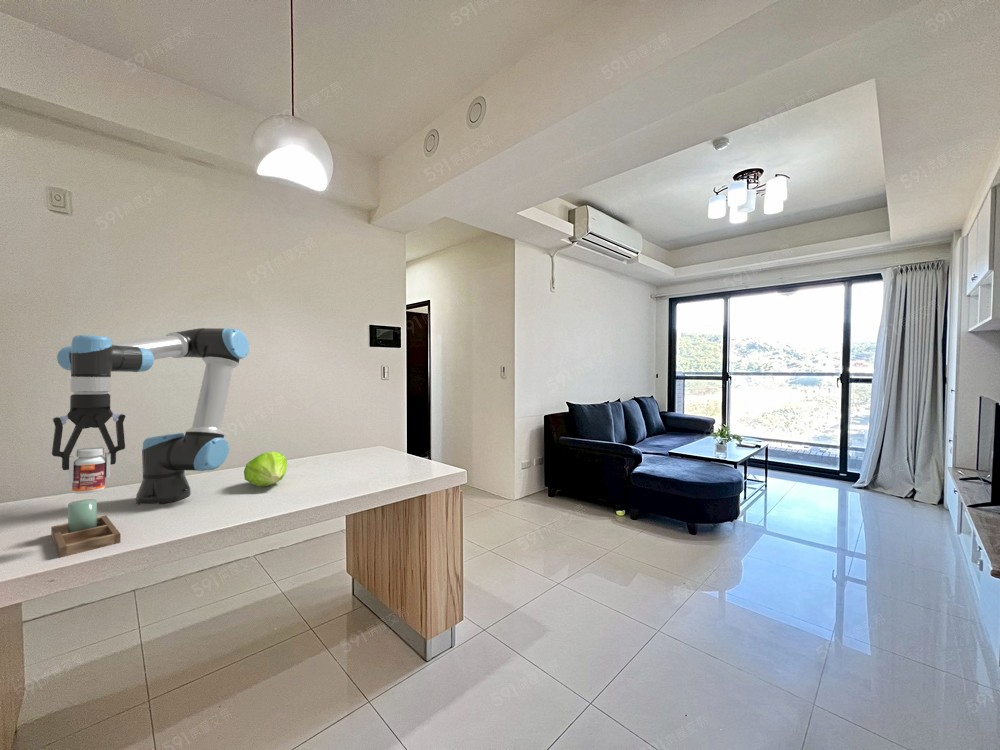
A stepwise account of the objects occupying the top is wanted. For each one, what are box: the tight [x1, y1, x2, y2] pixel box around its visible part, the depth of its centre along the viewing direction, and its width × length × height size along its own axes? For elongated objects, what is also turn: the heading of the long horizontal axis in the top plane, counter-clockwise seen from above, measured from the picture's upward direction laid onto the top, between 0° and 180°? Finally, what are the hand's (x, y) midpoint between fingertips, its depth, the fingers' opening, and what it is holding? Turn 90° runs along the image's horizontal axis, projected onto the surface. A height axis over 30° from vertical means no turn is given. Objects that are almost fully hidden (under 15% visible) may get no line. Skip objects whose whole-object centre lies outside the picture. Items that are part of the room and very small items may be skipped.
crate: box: [50, 515, 121, 559], centre depth 109 cm, size 11×21×3 cm, turn 52°
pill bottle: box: [71, 446, 106, 495], centre depth 107 cm, size 6×6×11 cm
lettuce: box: [243, 451, 288, 488], centre depth 161 cm, size 15×20×14 cm
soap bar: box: [67, 498, 98, 533], centre depth 112 cm, size 6×6×9 cm
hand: (89, 479), depth 107 cm, fingers closed on pill bottle, 6 cm apart
